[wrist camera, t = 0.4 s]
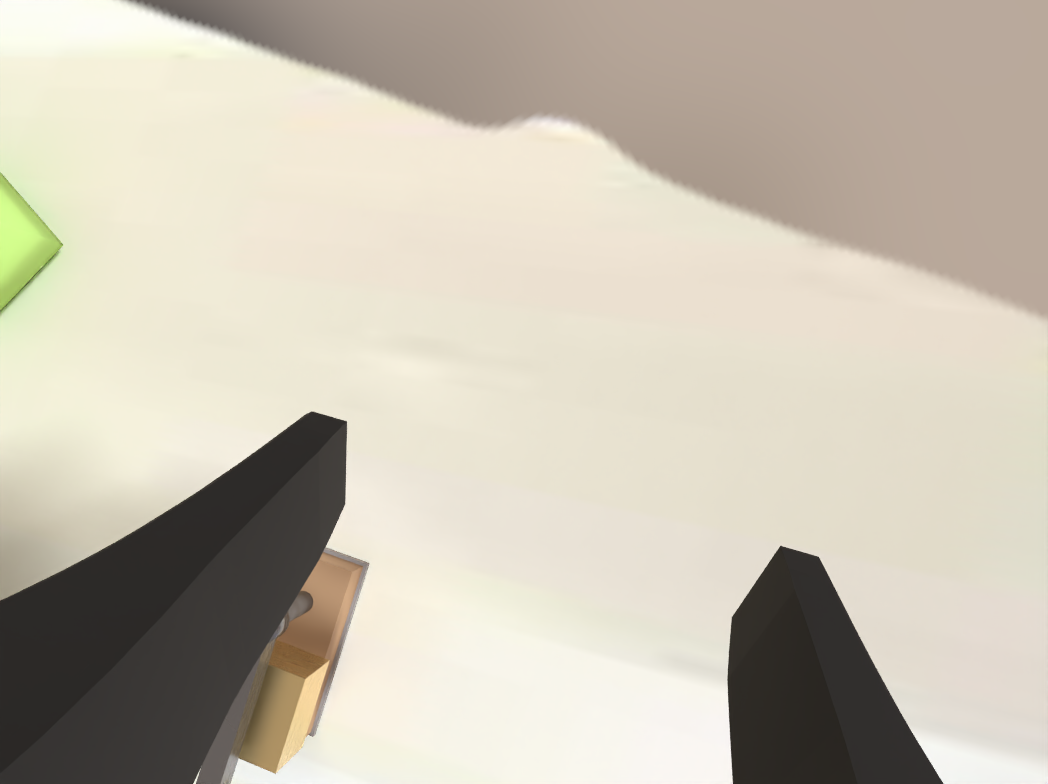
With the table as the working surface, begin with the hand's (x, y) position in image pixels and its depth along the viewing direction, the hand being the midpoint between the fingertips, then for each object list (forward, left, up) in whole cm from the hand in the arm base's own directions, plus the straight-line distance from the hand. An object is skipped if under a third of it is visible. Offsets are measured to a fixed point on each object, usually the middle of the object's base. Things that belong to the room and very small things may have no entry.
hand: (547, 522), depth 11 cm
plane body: (-15, +13, -28) cm, 34 cm away
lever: (-16, +13, -22) cm, 31 cm away
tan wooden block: (-17, +13, -26) cm, 34 cm away
